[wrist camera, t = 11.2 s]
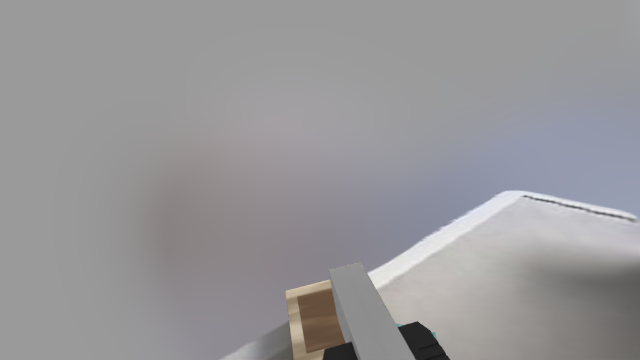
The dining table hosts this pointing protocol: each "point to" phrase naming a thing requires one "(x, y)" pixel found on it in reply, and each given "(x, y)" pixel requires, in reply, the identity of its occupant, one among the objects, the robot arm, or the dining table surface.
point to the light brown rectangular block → (313, 320)
